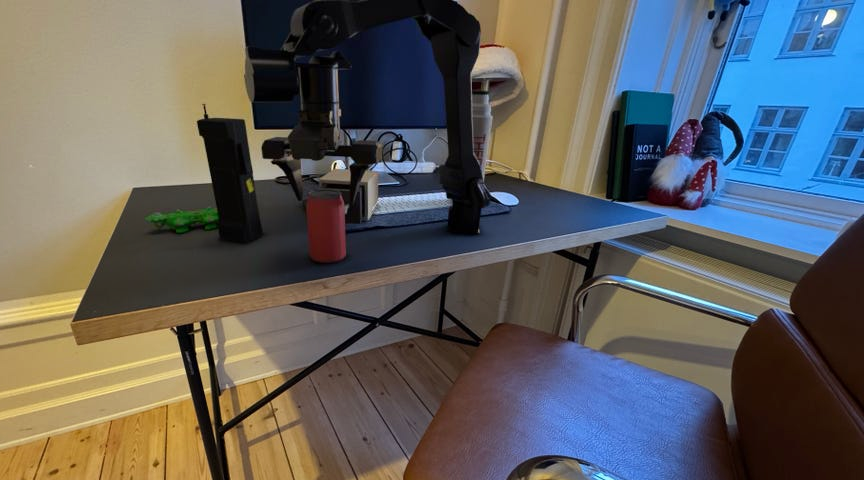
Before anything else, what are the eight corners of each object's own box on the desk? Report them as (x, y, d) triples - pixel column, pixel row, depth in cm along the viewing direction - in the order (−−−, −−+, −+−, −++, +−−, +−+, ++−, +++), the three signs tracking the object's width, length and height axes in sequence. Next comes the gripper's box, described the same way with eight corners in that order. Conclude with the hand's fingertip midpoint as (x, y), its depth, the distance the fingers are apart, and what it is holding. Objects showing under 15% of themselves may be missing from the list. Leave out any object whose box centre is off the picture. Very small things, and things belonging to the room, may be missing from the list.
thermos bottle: (481, 207, 98) (498, 90, 85) (451, 205, 99) (463, 90, 86) (479, 199, 105) (494, 90, 92) (451, 197, 106) (462, 90, 93)
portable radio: (269, 234, 77) (252, 104, 66) (251, 244, 72) (229, 105, 61) (238, 229, 79) (216, 103, 68) (218, 239, 74) (191, 104, 63)
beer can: (343, 265, 65) (341, 198, 59) (306, 264, 65) (301, 197, 59) (348, 250, 70) (346, 188, 65) (313, 249, 71) (309, 187, 65)
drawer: (355, 230, 78) (355, 196, 74) (308, 227, 79) (306, 193, 76) (371, 209, 92) (371, 179, 88) (330, 206, 93) (329, 177, 90)
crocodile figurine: (150, 227, 80) (145, 208, 78) (238, 217, 87) (235, 199, 85) (147, 238, 74) (141, 217, 72) (241, 226, 81) (238, 207, 79)
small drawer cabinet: (368, 220, 86) (367, 182, 82) (320, 217, 88) (318, 179, 84) (378, 205, 97) (378, 171, 93) (336, 202, 99) (334, 168, 95)
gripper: (235, 103, 50) (252, 212, 57) (368, 106, 47) (368, 221, 55) (271, 100, 60) (282, 194, 67) (383, 103, 57) (382, 200, 64)
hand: (325, 202), depth 63 cm, fingers open, 9 cm apart
